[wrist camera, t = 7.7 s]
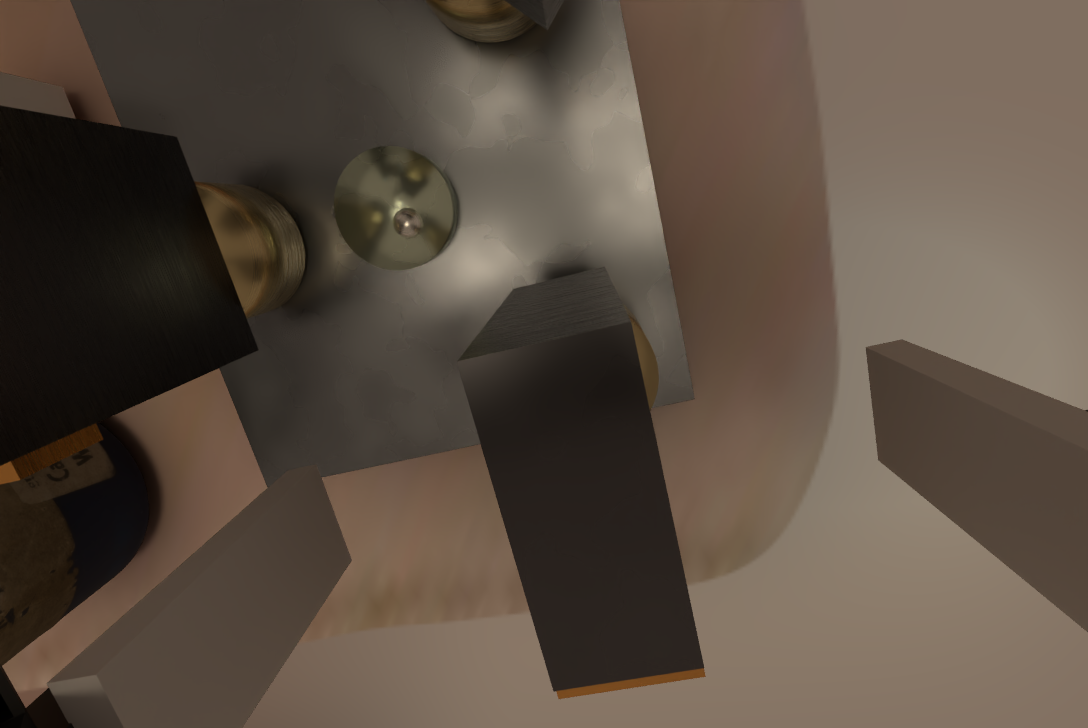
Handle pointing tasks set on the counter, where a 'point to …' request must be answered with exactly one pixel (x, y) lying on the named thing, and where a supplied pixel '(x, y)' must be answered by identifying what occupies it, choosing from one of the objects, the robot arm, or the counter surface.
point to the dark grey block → (494, 17)
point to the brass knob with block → (583, 483)
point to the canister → (66, 537)
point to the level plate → (399, 195)
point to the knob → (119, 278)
